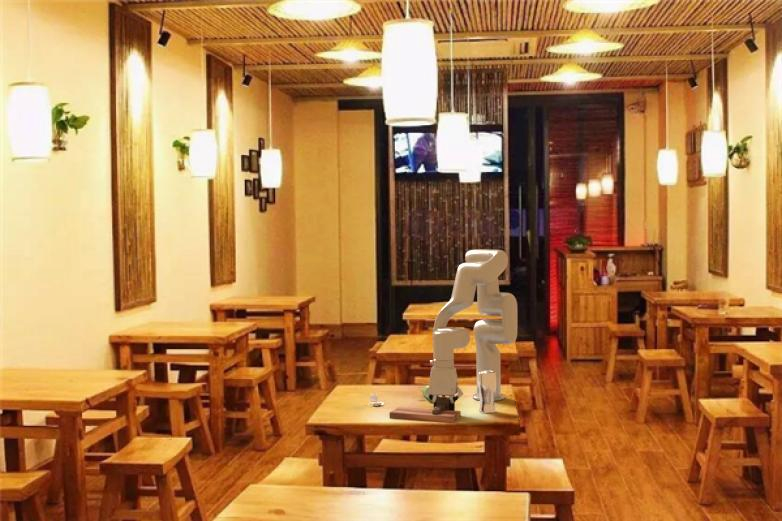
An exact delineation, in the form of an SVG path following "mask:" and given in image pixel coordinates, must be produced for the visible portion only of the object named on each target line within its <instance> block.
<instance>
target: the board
mask: <svg viewBox="0 0 782 521" xmlns="http://www.w3.org/2000/svg"><path fill="white" fill-rule="evenodd" d="M433 409H434V408H419V407H405V406H403V407H402V406H399V407H396V408H394V409H393V410H391V411H389V419H398V420H399V419H400V420H411V419H412V420H413V421H414V420H415V421H426V422H427V421H429V422H441V423H443V422H444V423H454V422H455V421H456V420H458V419H459V418H460V417H461V414H462V413H461V410H455V411H452V410H443V411H442V412H441V413H439V414H438V415H435V414H432V410H433Z"/></svg>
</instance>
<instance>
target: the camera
mask: <svg viewBox="0 0 782 521" xmlns="http://www.w3.org/2000/svg"><path fill="white" fill-rule="evenodd" d="M449 404H450V398H449V396H444V395H441V396H439V397H438V398H436V407H434V406H433V408H432V409H433V410H432V414H435V415H438V414H439V413H441V412H442V411H443V410H449Z"/></svg>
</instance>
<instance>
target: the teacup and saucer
mask: <svg viewBox="0 0 782 521" xmlns="http://www.w3.org/2000/svg"><path fill="white" fill-rule="evenodd" d="M378 397H379V396H378V394H377V393H371V394H370V393H369V402H370V403H369V404H371V405H372V407H379V405H380V406H384V405H385V402H382V401H379V400H378V399H379V398H378ZM381 403H382V404H381Z"/></svg>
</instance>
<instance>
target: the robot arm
mask: <svg viewBox="0 0 782 521" xmlns="http://www.w3.org/2000/svg"><path fill="white" fill-rule="evenodd" d="M464 257H465V262H463V263H461V264H459V265H458V267H457V270H456V274H455V277H454V279H455V280H454V283H453V288H452V293H451V296H450V297H451V298H450V299H449V301H448V302H447V303H446V304H445V305H444V306H443V307H442V308H441V309H440V310H439V312H438V313H437V315H436V317H435V320H434V324H433V328H432V335H431V337H432V341H433V342H432V350H433V352H432V354H433V357H432V358H433V359H432V360H429V364H430V365H432V367H430V373H429V374H430V375H429V384H428V385H429V387H428V388H427V390H426V391H425V394H427V395H428V396H429V397H430V398H431V400H432V401H433V402H434V403H433V408H434V407H436V398H438V397H440V396H442V395H444V396H445V397H449V398H450V404H449V410H452V411H456V406H455V403H456V402H457V400H458V399H460V398H461V397H463V396H464V392H463V391H462V389H461V388H460V387H459V382H458V374H457V373H458V372H457V368H456V367H455V360H454V359H455V357H454V356H455V355H454V354H455V353H454V351H455V349H464V348H466V347H468V345H469V344H470V342H471V336H470V335H471V334H470V332H469V331H468V330H467V329H465V328H461V327H460V328H459V327H448V326H447V325H448V322H449V321H450V319H451V318H452V317H453V316H455V315H456V314H458V313H459V312H462V311H464V310H466V309H469V308H471V307H472V306H473V304H474V300H475V294H477V297H476V298H477V304H476V305H477V311H478V313H479V314H480V315H482V316H486V317H501V319H489V318H484V319H479V320H477V321H476V322H475V324H474V325H473V337H474V342H475V348H476V349H475V351H476V352H475V354H476V355H475V356H476V359H475V360H476V361H475V362H476V393H474V394H472V399H473V400H476V401H480V397H479V392H478V371H483V370H491V371H495V372H496V392H495V399H494V402H495V401H502V400H504V399H505V394H503V393H502V392H501V391H502V390H501V380H502V379H501V376H502V375H501V352H500V350H499V347H498V346H497V345H505V346H508V345H513V344H514V343H515V342H516V340H517V337H518V302H517V299H516V297H515V296H514V295H513V293H510V292H502V291H501V292H500V288H499V287H500V285H499V284H500V283H499V281H500V280H499V276H500V275H501V274H502V273H503V272H504V271H505V270H506V268H507V266H508V262H509V257H508V255H507V253H506V251H504V250H501V249H488V248H487V249H485V248H484V249H481V248H477V249H470V250H468V251H467V252H466V253H465V256H464ZM476 292H477V293H476ZM455 394H456V395H455Z"/></svg>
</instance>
